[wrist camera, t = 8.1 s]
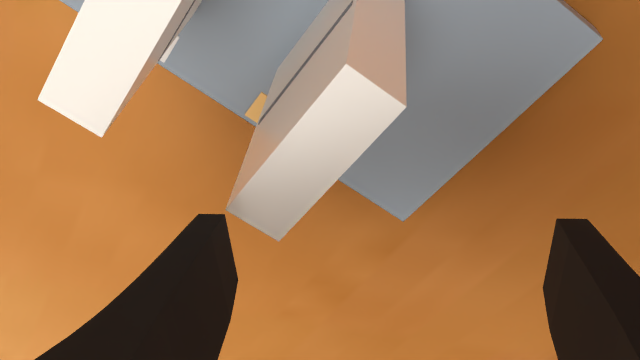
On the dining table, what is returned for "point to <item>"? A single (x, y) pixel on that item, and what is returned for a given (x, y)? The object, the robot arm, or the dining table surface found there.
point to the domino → (111, 57)
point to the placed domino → (322, 111)
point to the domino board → (421, 77)
